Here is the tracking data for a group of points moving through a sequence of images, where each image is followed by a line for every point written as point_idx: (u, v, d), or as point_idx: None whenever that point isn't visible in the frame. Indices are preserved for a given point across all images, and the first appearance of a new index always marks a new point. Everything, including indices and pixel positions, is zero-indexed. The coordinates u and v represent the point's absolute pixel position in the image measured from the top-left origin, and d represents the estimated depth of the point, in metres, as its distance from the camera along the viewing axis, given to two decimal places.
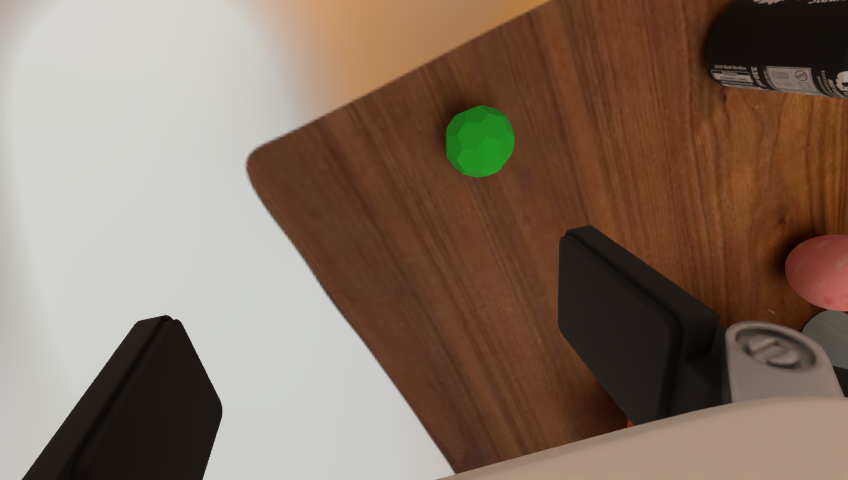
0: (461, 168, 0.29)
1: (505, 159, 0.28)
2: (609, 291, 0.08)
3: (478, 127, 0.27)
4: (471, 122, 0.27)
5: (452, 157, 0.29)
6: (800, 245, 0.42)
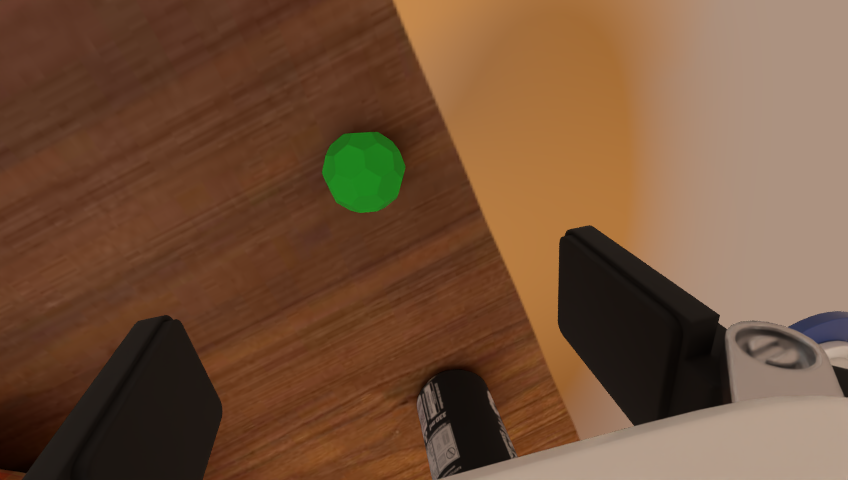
0: (335, 152, 0.23)
1: (352, 204, 0.24)
2: (609, 291, 0.08)
3: (389, 167, 0.23)
4: (393, 158, 0.24)
5: (347, 140, 0.23)
6: None
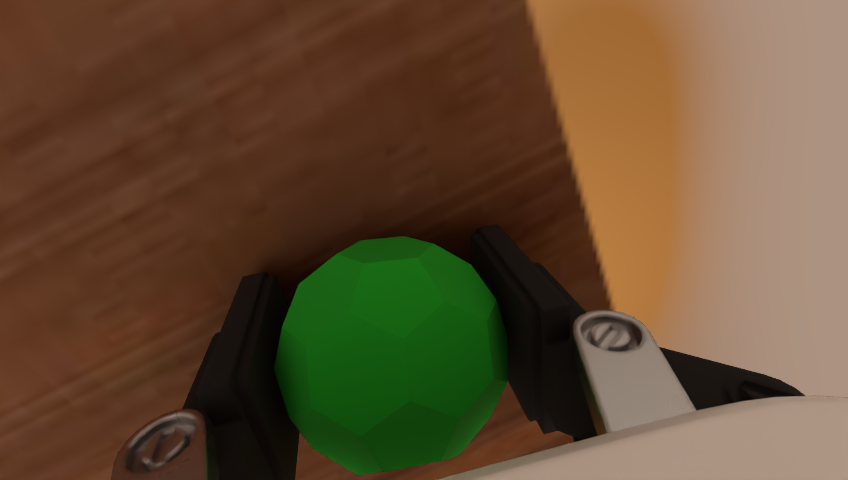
0: (310, 330, 0.07)
1: (363, 473, 0.08)
2: (498, 284, 0.09)
3: (481, 375, 0.07)
4: (489, 341, 0.08)
5: (350, 289, 0.07)
6: None
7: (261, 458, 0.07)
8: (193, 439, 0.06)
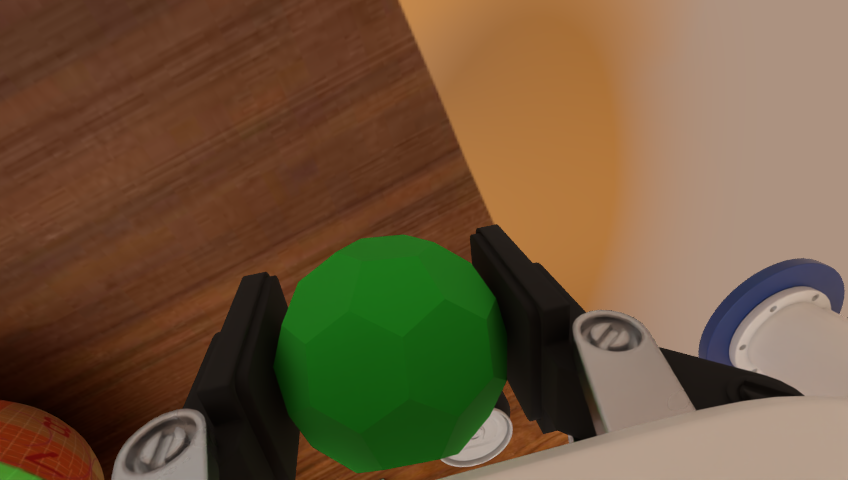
0: (310, 328, 0.07)
1: (363, 471, 0.08)
2: (498, 284, 0.09)
3: (480, 373, 0.07)
4: (489, 340, 0.08)
5: (349, 287, 0.07)
6: None
7: (262, 458, 0.07)
8: (193, 439, 0.06)
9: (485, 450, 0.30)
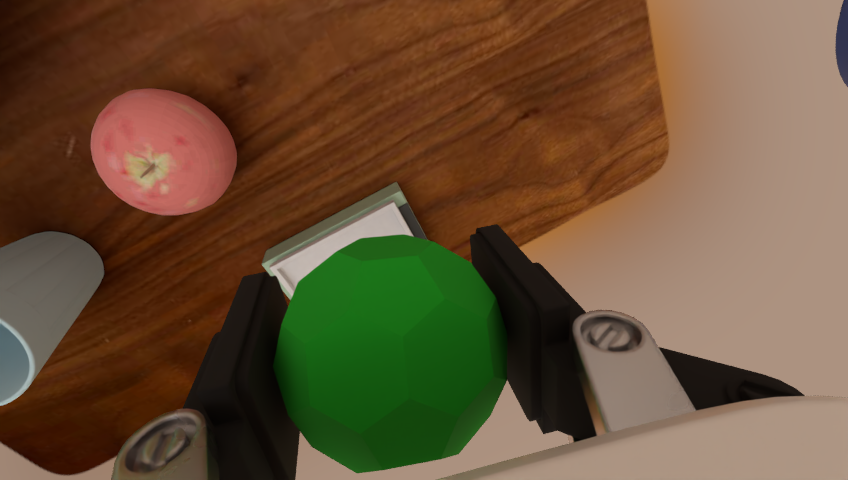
0: (309, 327, 0.07)
1: (363, 471, 0.08)
2: (498, 284, 0.09)
3: (480, 373, 0.07)
4: (489, 339, 0.08)
5: (349, 286, 0.07)
6: None
7: (262, 458, 0.07)
8: (194, 439, 0.06)
9: None
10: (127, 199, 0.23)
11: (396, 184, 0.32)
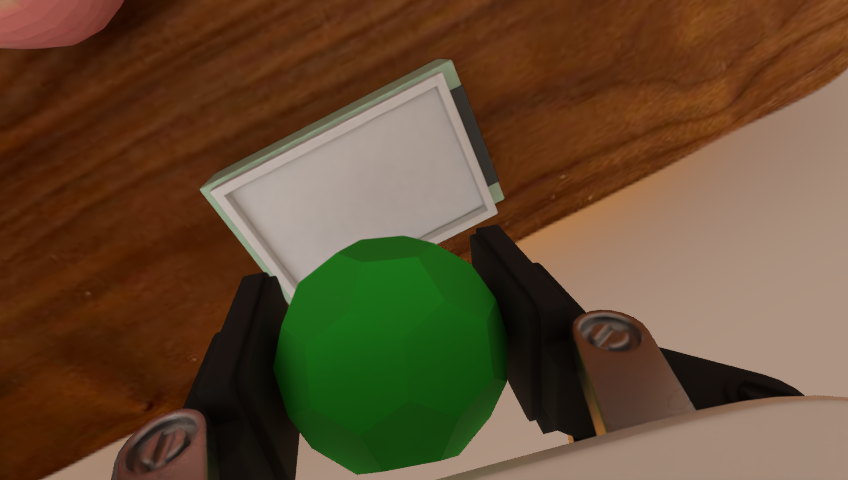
0: (309, 329, 0.07)
1: (363, 473, 0.08)
2: (498, 284, 0.09)
3: (480, 375, 0.07)
4: (488, 341, 0.08)
5: (349, 288, 0.07)
6: None
7: (262, 458, 0.07)
8: (194, 439, 0.06)
9: None
10: None
11: (440, 59, 0.18)
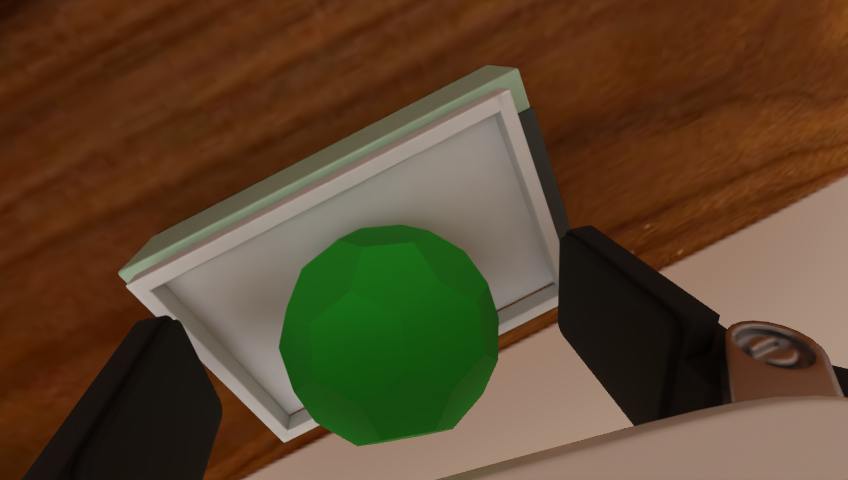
0: (313, 308, 0.08)
1: (363, 444, 0.08)
2: (609, 291, 0.08)
3: (472, 351, 0.08)
4: (480, 320, 0.08)
5: (350, 270, 0.08)
6: None
7: None
8: None
9: None
10: None
11: (493, 66, 0.12)
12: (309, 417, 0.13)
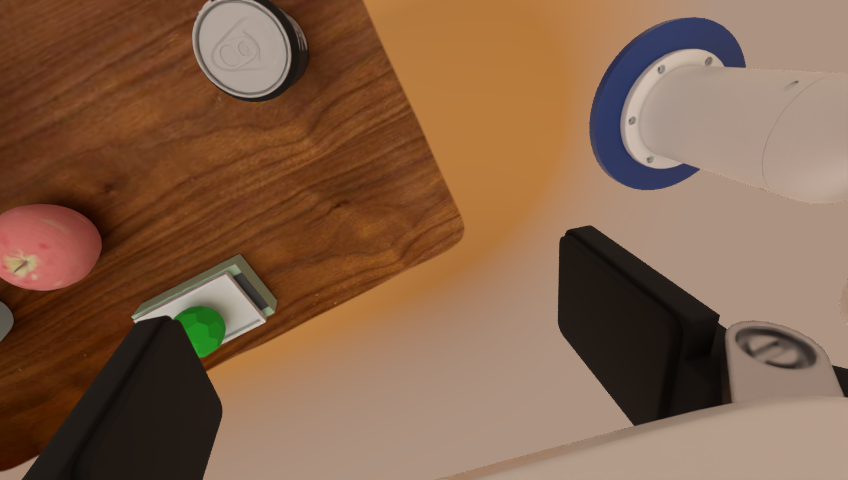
0: None
1: None
2: (609, 291, 0.08)
3: (205, 336, 0.39)
4: (208, 329, 0.39)
5: (180, 319, 0.39)
6: None
7: None
8: None
9: (265, 79, 0.27)
10: (10, 282, 0.34)
11: (237, 257, 0.43)
12: None
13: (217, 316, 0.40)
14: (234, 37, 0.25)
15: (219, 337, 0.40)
